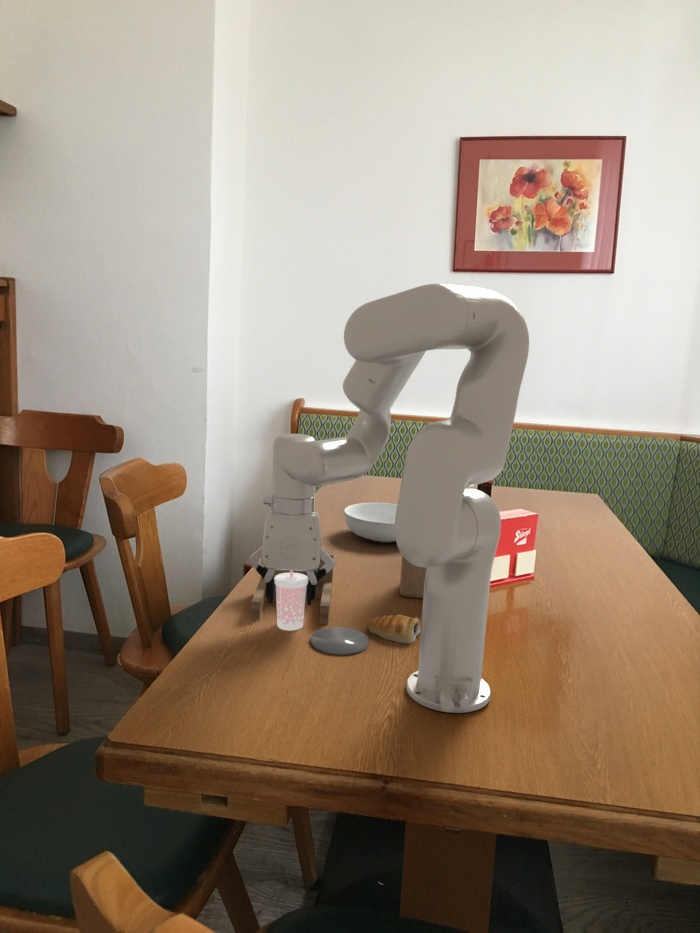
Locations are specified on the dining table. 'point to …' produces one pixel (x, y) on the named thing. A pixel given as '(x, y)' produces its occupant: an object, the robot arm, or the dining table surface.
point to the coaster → (339, 641)
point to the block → (412, 579)
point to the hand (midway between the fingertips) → (290, 601)
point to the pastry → (395, 628)
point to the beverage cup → (290, 600)
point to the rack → (321, 591)
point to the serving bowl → (372, 520)
